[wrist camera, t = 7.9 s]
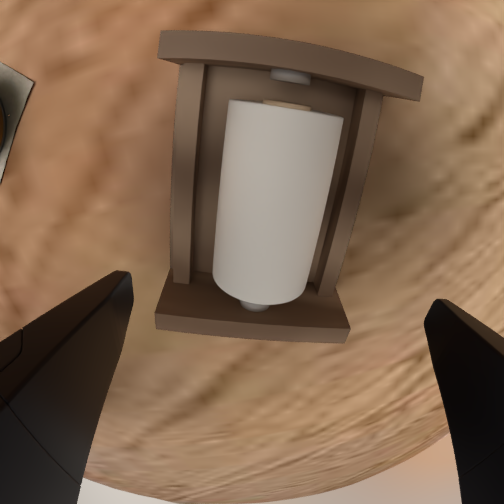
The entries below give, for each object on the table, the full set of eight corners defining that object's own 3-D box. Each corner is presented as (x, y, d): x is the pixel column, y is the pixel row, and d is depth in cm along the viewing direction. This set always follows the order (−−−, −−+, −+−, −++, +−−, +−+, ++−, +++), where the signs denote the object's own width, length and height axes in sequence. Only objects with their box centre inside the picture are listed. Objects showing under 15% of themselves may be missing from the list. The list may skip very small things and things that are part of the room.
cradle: (326, 289, 23) (344, 343, 18) (173, 275, 22) (156, 328, 17) (377, 75, 15) (423, 76, 10) (186, 46, 14) (160, 30, 10)
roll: (284, 252, 21) (320, 302, 16) (204, 255, 19) (223, 312, 15) (312, 105, 16) (367, 120, 12) (219, 93, 14) (247, 99, 10)
